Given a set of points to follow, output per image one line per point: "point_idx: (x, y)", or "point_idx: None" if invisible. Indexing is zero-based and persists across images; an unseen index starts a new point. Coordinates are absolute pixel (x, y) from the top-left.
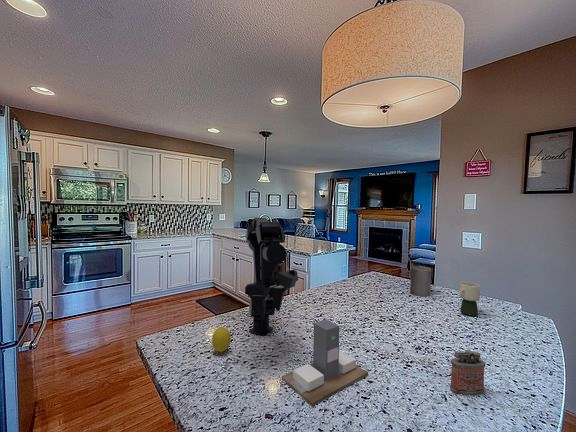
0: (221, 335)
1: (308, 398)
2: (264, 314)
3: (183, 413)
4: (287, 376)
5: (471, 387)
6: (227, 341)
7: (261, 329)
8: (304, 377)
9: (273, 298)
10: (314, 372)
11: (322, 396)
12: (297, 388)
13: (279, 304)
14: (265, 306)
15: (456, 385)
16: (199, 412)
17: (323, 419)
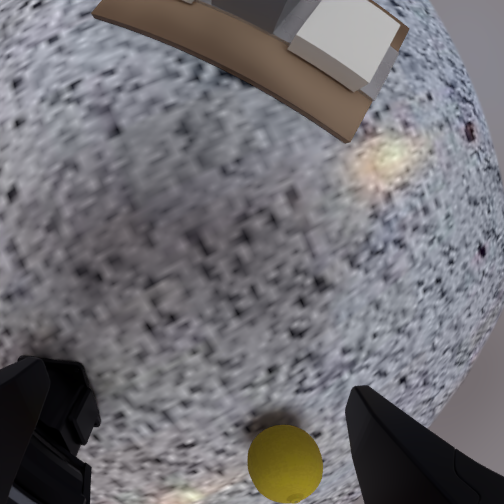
0: (318, 470)
1: (400, 37)
2: (376, 404)
3: (495, 313)
4: (341, 119)
5: None
6: (295, 442)
7: (76, 392)
8: (385, 38)
9: (8, 482)
10: (340, 8)
11: (373, 3)
12: (390, 68)
13: (5, 392)
14: (424, 463)
15: None
16: (493, 288)
17: (420, 10)
